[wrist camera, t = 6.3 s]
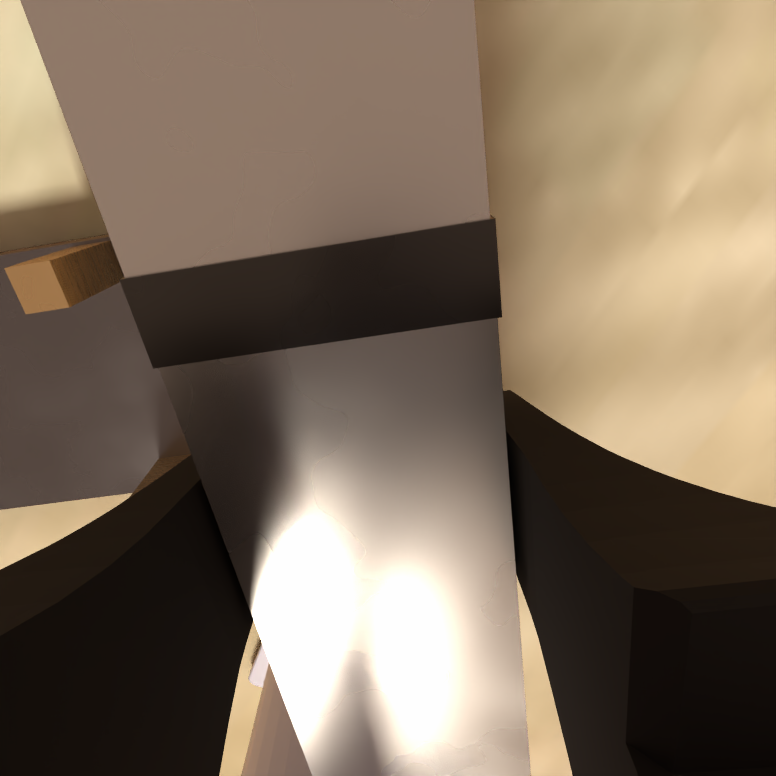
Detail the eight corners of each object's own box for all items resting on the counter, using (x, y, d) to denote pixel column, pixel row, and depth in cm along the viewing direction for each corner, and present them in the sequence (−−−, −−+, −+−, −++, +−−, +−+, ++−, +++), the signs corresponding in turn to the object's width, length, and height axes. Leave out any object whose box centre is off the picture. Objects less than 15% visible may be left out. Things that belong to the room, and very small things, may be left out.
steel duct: (497, 623, 15) (535, 802, 11) (343, 638, 16) (324, 818, 11) (436, 10, 9) (472, -104, 5) (182, 60, 9) (10, -7, 5)
